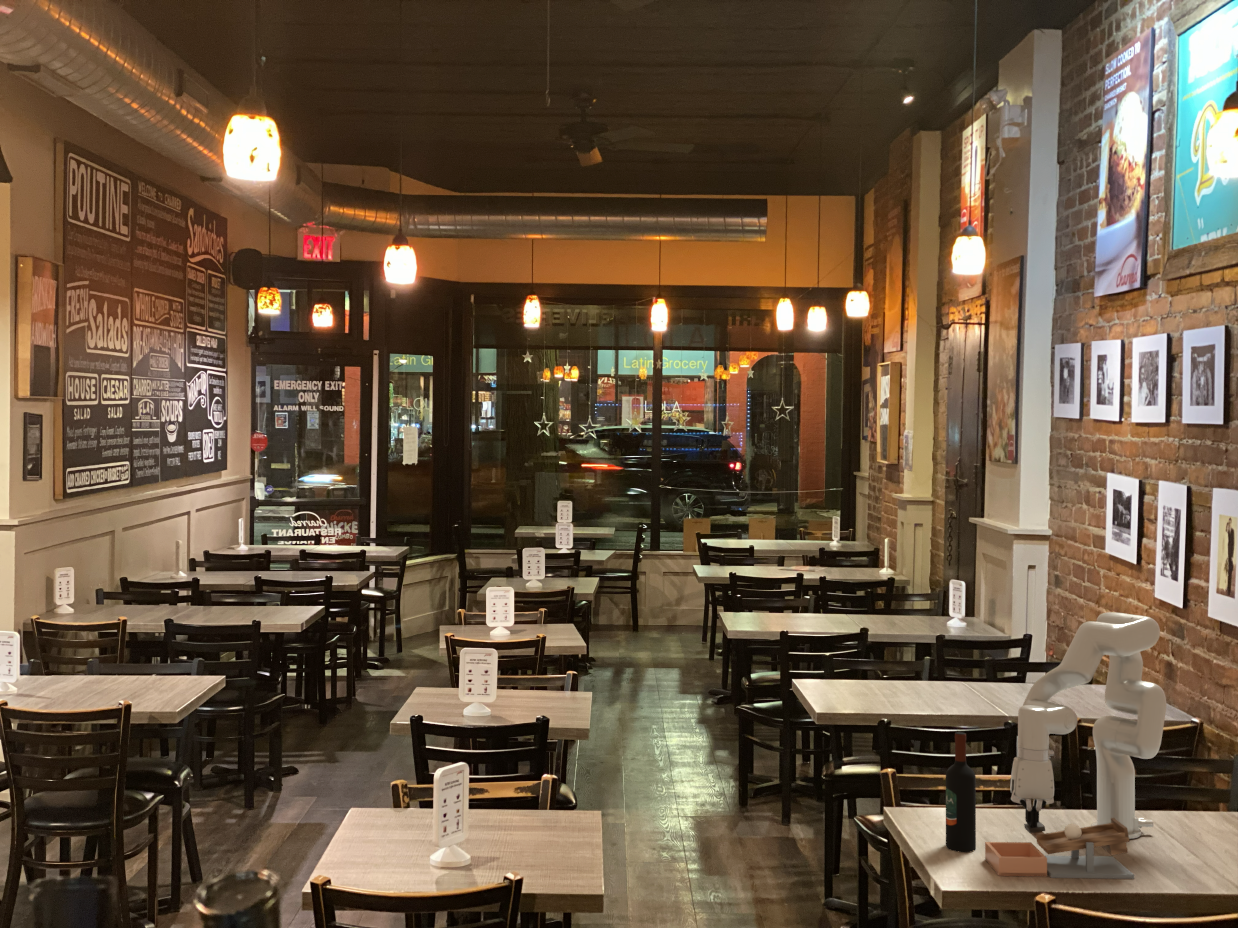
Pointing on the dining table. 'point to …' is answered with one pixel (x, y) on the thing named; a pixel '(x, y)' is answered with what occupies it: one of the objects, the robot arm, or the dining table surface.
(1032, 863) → the pink hollow square tray
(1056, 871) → the stand
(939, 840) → the dining table surface
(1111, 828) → the lever
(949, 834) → the wine bottle
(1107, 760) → the robot arm
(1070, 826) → the ball
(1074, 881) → the dining table surface
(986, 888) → the dining table surface
